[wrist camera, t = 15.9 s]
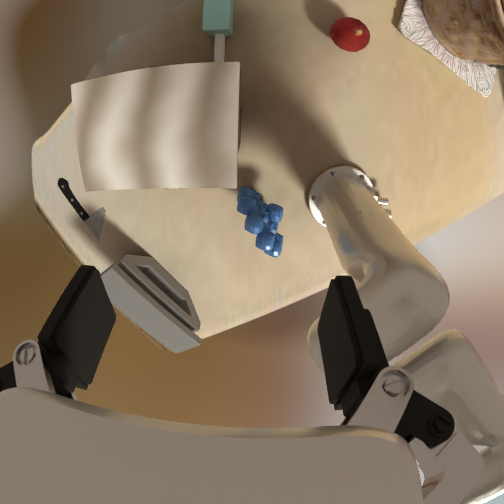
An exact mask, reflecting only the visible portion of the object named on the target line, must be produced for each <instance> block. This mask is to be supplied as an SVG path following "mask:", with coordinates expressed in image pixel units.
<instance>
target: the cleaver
mask: <svg viewBox="0 0 504 504" xmlns="http://www.w3.org/2000/svg"><path fill="white" fill-rule="evenodd" d="M58 186H59V188H60V190H61V191H62V193H63V194H64V195H65V197H66V198H67V199H68V201H69V202H70V204H71V205H72V206H73V208H74V209H75V210H76V212H77V213H78V214H79V216H80V217H81V218H82V220H83V221H84V222H85V223H86V225H87V226H88V227H89V229H90V230H91V231H92V232H93V234H94V235H95V237H96V238H97V239H98V241H99V240H100V235H101V230H102V225H103V220H104V216H105V211H106V210H105V209H104V208H103V207H102V208H101V209H99V210H98V211H96V212H95V213H93V214H92V215H90V216H89V215H88V214H87V213H86V211H85V210H84V209H83V207H82V206H81V205H80V203H79V202H78V201H77V199H76V198H75V196H74V195H73V193H72V191H71V190H70V188H69V185H68V181H67V180H65V179H64V178H60V179H59V180H58Z"/></svg>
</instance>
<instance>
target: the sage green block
mask: <svg viewBox="0 0 504 504" xmlns="http://www.w3.org/2000/svg"><path fill="white" fill-rule="evenodd" d="M233 18H234V0H204V1H203V22H202V31H204V32H205V33H206V34H207V35H208V36H209V37H215V46H214V62H224V60H225V37H232V36H233Z"/></svg>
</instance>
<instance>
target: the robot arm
mask: <svg viewBox="0 0 504 504" xmlns="http://www.w3.org/2000/svg"><path fill="white" fill-rule="evenodd" d="M331 172H332V173H331ZM360 175H361V176H360ZM313 195H314V196H313ZM312 196H313V197H312ZM308 204H309V209H310V211H311V214H312V215H313V217H314V218H315V220H316V221H317V222H318V223H320V224H321V225H323V226H325V227H327V230H328V232H329V235H330V237H331V240H332V242H333V245H334V247H335V250H336V252H337V255H338V257H339V260H340V263H341V265H342V267H343V269H344V270H345V271H346V273H347V274H348V275H349V276H336V278H335V279H332V280H331V282H330V285H329V289H328V292H327V296H326V299H325V303H324V306H323V309H322V313H321V316H320V317H319V318H318V319H317V320H316V321H315V322H314V323H313V325H312V326H311V328H310V330H309V332H308V347H309V350H310V353H311V355H312V357H313V359H314V361H315V363H316V364H317V366H318V368H319V369H320V370H321V371H322V373H323V374H324V376H325V377H326V384H327V390H328V397H329V402H330V404H334V408H335V410H342V409H343V415H344V416H345V419H344V420H343V422H342V423H341V425H340V426H320V427H304V428H235V427H218V426H206V425H196V424H186V423H179V422H171V421H165V420H158V419H152V418H147V417H142V416H137V415H131V414H127V413H122V412H118V411H114V410H109V409H105V408H101V407H98V406H94V405H90V404H87V403H84V402H80V401H78V400H77V397H76V395H75V392H74V389H75V387H78V388H81V389H84V390H87V387H88V384H91V383H92V381H93V378H94V375H95V372H96V369H97V367H98V364H99V361H100V358H101V356H102V353H103V350H104V348H105V345H106V343H107V340H108V338H109V335H110V333H111V330H112V328H113V326H114V323H115V320H116V314H115V312H114V309H113V307H112V304H111V302H110V299H109V297H108V294H107V291H106V289H105V286H104V283H103V281H102V278H101V275H100V272H99V271H98V270H97V269H96V268H95V267H94V266H89V265H82V266H80V268H79V269H78V271H77V272H76V274H75V275H74V277H73V278H72V280H71V281H70V283H69V284H68V286H67V287H66V289H65V290H64V292H63V294H62V295H61V297H60V299H59V300H58V302H57V304H56V305H55V307H54V308H53V310H52V312H51V314H50V315H49V317H48V319H47V321H46V323H45V324H44V326H43V328H42V330H41V331H40V333H39V335H38V339H39V341H38V343H37V342H35V341H34V340H26V341H23V342H22V343H20V344H19V345H18V346H17V348H16V349H15V351H14V354H13V361H12V362H10V363H9V364H7V365H5V366H3V367H1V368H0V504H482V503H484V502H486V501H488V500H490V499H492V498H494V497H496V496H498V495H500V494H502V493H503V492H504V396H503V395H502V394H501V392H500V391H499V389H498V387H497V385H496V383H495V382H494V380H493V378H492V376H491V374H490V372H489V370H488V369H487V367H486V365H485V364H484V362H483V360H482V358H481V357H480V355H479V353H478V352H477V350H476V349H475V347H474V345H473V344H472V343H471V342H470V340H469V339H468V338H467V337H466V335H464V334H463V333H462V332H461V331H459V330H456V329H450V330H446V331H444V332H442V333H440V334H438V335H436V336H435V337H433V338H432V339H430V340H429V341H427V342H426V343H425V344H423V345H422V346H420V347H419V348H418V349H416V350H415V351H414V352H412V353H410V354H409V355H408V356H407V357H405V358H403V359H402V360H400V361H399V362H397V363H396V364H394V365H393V366H390V367H389V364H388V361H390V360H391V359H393V358H394V357H397V356H398V355H400V354H401V353H403V352H404V351H406V350H407V349H408V348H410V347H411V346H413V345H414V344H416V343H417V342H418V341H420V340H421V339H422V338H423V337H425V336H426V335H427V334H428V333H429V332H430V331H432V330H433V329H434V327H436V326H437V324H438V323H439V322H440V321H441V320H442V318H443V317H444V315H445V313H446V311H447V309H448V306H449V300H450V297H449V296H450V295H449V290H448V287H447V284H446V282H445V280H444V279H443V277H442V276H441V274H440V273H439V272H438V271H437V269H436V268H435V267H434V266H433V265H432V264H431V263H430V262H429V261H428V260H427V259H426V258H425V257H424V256H423V255H422V254H421V253H420V252H418V250H417V249H416V248H415V247H414V246H413V245H412V244H411V243H410V242H409V240H408V239H407V238H406V237H405V236H404V234H403V233H402V232H401V231H400V229H399V228H398V227H397V225H396V224H395V223H394V221H393V220H392V219H391V210H390V209H383V208H382V206H381V205H388V198H382V197H381V198H379V197H377V196H376V195H375V193H374V188H373V185H372V183H371V181H370V179H369V178H368V177H367V176H366V175H365V174H364V173H363V172H362V171H361V170H359V169H357V168H355V167H352V166H345V165H342V166H335V167H331V168H329V169H327V170H325V171H324V172H322V173H321V174H320V175H319V176H318V177H317V178H316V179H315V180H314V182H313V183H312V185H311V188H310V190H309V195H308ZM323 220H324V221H323ZM353 279H355V280H356V281H359V283H358V284H357V285H356V286H355V283H354V281H353ZM472 445H483V446H488V447H486V448H484V449H483V450H481V451H479V452H477V450H476V449H475V448H474V447H473V446H472ZM415 459H416V460H417V461H418V462H419V465H418V466H419V467H420V469H421V470H422V471H423V473H424V478H425V480H424V483H423V486H421V480H420V475H419V471H418V468H417V463H416V460H415Z"/></svg>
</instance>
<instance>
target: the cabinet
mask: <svg viewBox="0 0 504 504" xmlns="http://www.w3.org/2000/svg"><path fill="white" fill-rule="evenodd" d="M240 84H241V71H240V62H205V63H188V64H183V63H179V64H173V65H167V66H153V67H149V68H144V69H138V70H132V71H126V72H121V73H116V74H111V75H106V76H102V77H98V78H93V79H90V80H86V81H82V82H79V83H75V84H72V85H71V92H72V106H73V116H74V126H75V134H76V141H77V148H78V154H79V160H80V166H81V172H82V177H83V182H84V187H85V191H102V190H121V189H150V188H235V189H237V164H238V151H239V146H240V138H241V110H240Z"/></svg>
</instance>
